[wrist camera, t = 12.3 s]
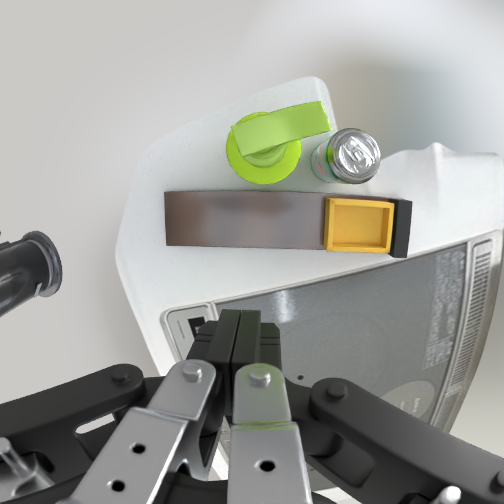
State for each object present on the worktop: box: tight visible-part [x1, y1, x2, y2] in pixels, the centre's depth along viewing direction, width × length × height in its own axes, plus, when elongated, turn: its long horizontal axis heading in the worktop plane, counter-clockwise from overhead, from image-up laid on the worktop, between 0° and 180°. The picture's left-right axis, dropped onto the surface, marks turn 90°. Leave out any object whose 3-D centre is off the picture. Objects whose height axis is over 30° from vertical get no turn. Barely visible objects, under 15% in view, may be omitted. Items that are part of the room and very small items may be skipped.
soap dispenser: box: [226, 101, 331, 184], centre depth 24 cm, size 6×7×20 cm
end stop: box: [387, 198, 412, 258], centre depth 32 cm, size 2×7×3 cm, turn 179°
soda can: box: [311, 128, 380, 184], centre depth 27 cm, size 5×5×12 cm
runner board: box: [164, 190, 405, 250], centre depth 35 cm, size 31×7×1 cm, turn 90°
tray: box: [323, 198, 394, 253], centre depth 32 cm, size 8×6×3 cm
